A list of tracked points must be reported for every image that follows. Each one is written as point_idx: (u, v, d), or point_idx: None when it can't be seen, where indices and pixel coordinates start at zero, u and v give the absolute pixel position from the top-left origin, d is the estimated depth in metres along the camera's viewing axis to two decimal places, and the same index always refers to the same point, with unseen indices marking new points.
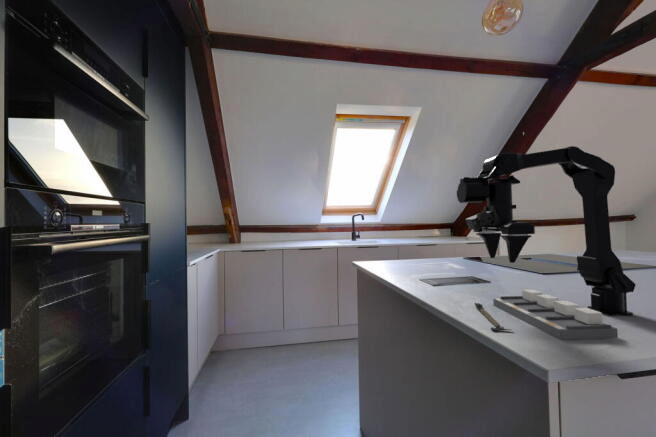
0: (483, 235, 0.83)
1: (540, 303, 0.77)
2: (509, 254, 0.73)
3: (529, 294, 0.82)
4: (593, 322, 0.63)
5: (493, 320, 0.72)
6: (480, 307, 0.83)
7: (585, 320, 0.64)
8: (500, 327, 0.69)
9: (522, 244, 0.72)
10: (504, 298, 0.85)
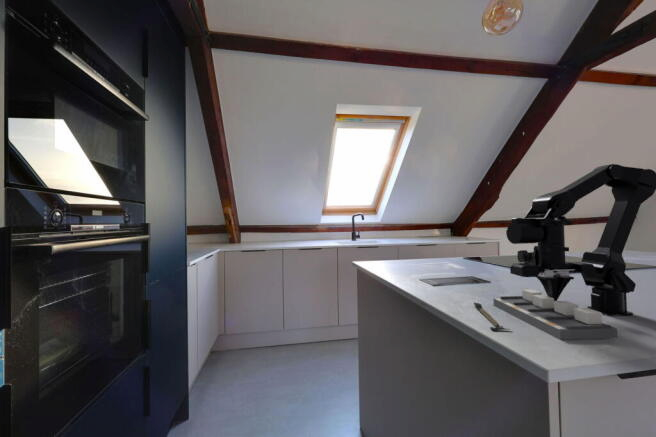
0: None
1: (535, 303, 0.77)
2: None
3: (529, 294, 0.82)
4: (593, 322, 0.63)
5: (492, 320, 0.73)
6: (479, 307, 0.84)
7: (585, 320, 0.64)
8: (499, 326, 0.69)
9: (550, 286, 0.75)
10: (504, 298, 0.85)
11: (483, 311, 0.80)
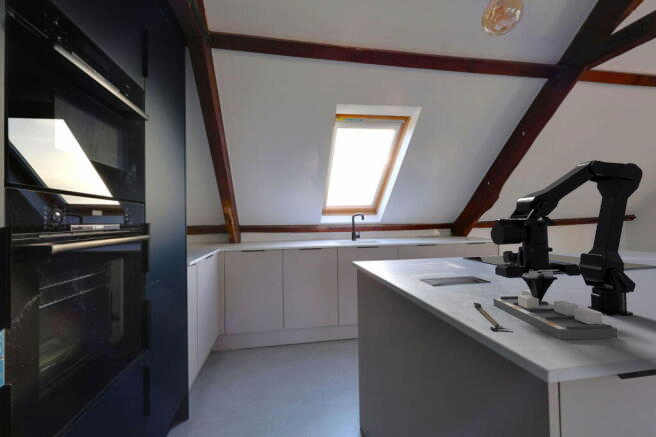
0: None
1: (521, 304, 0.77)
2: None
3: (529, 294, 0.82)
4: (593, 322, 0.63)
5: (492, 319, 0.73)
6: (479, 307, 0.84)
7: (585, 320, 0.64)
8: (499, 326, 0.69)
9: (535, 286, 0.75)
10: (504, 298, 0.85)
11: (483, 311, 0.80)
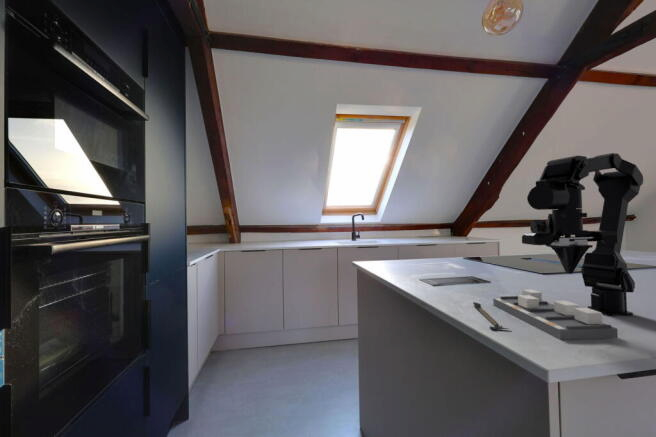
0: None
1: (521, 304, 0.77)
2: None
3: (529, 294, 0.82)
4: (593, 322, 0.63)
5: (492, 319, 0.73)
6: (478, 306, 0.84)
7: (585, 320, 0.64)
8: (499, 326, 0.69)
9: (566, 255, 0.69)
10: (504, 298, 0.85)
11: (482, 311, 0.80)
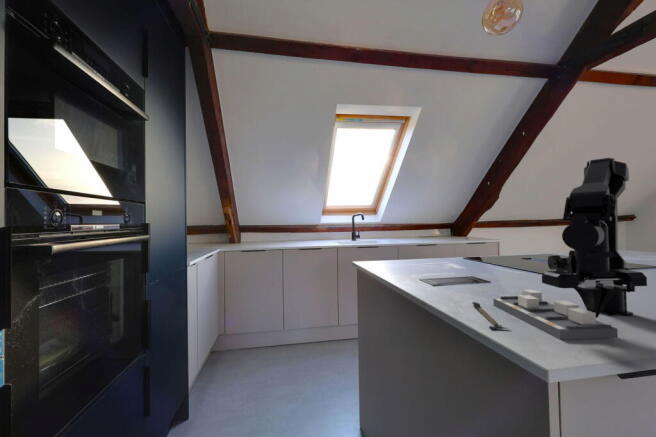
0: None
1: (521, 304, 0.77)
2: None
3: (529, 294, 0.82)
4: (586, 322, 0.63)
5: (491, 319, 0.73)
6: (478, 306, 0.84)
7: (579, 320, 0.64)
8: (498, 325, 0.70)
9: (592, 298, 0.63)
10: (504, 298, 0.85)
11: (482, 310, 0.80)
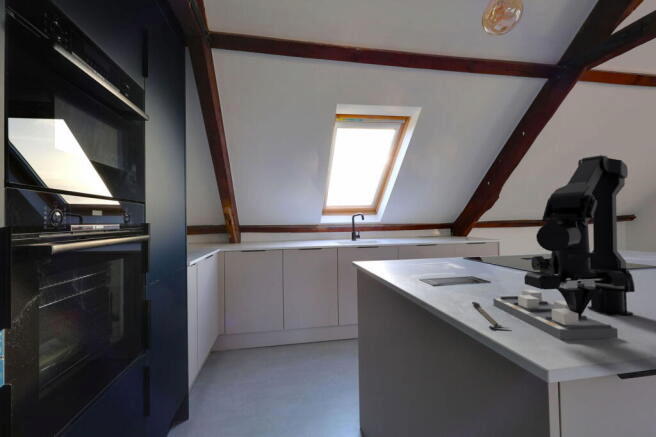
0: None
1: (521, 304, 0.77)
2: None
3: (529, 294, 0.82)
4: (569, 323, 0.63)
5: (491, 319, 0.74)
6: (477, 306, 0.84)
7: (561, 321, 0.64)
8: (498, 325, 0.70)
9: (574, 299, 0.63)
10: (504, 298, 0.85)
11: (481, 310, 0.80)
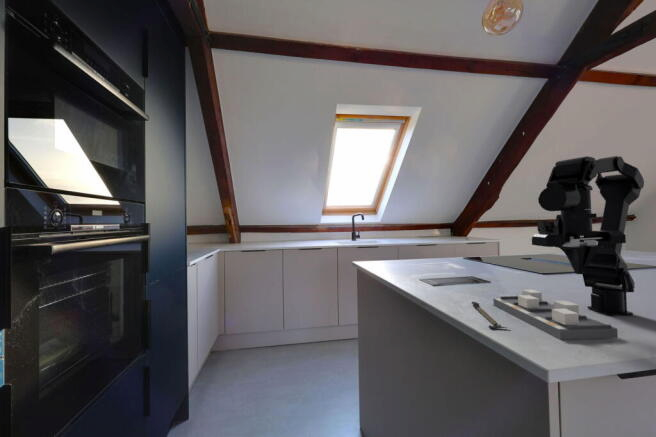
0: None
1: (521, 304, 0.77)
2: None
3: (529, 294, 0.82)
4: (569, 323, 0.63)
5: (490, 318, 0.74)
6: (477, 306, 0.85)
7: (562, 321, 0.64)
8: (497, 325, 0.70)
9: (576, 256, 0.69)
10: (504, 298, 0.85)
11: (481, 310, 0.81)
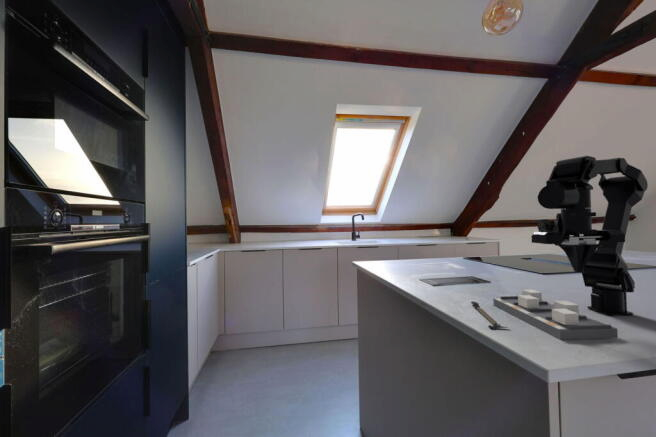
0: None
1: (521, 304, 0.77)
2: None
3: (529, 294, 0.82)
4: (569, 323, 0.63)
5: (490, 318, 0.74)
6: (477, 305, 0.85)
7: (562, 321, 0.64)
8: (497, 325, 0.70)
9: (575, 254, 0.70)
10: (504, 298, 0.85)
11: (480, 310, 0.81)
